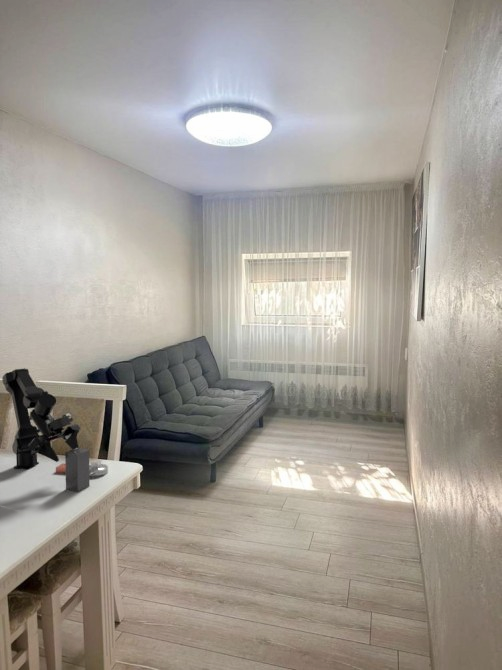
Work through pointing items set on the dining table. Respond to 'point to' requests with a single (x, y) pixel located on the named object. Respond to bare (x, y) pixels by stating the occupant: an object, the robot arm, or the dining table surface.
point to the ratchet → (94, 469)
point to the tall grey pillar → (77, 469)
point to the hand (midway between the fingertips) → (68, 456)
